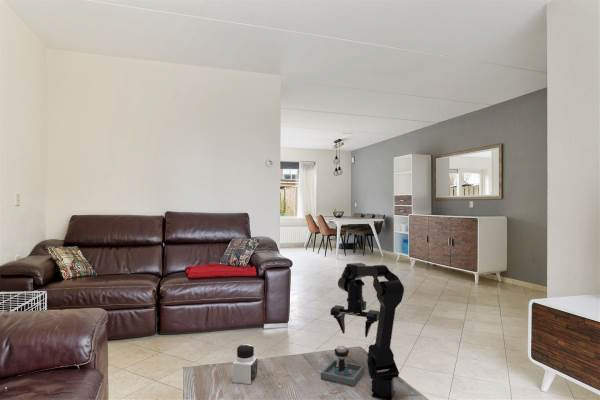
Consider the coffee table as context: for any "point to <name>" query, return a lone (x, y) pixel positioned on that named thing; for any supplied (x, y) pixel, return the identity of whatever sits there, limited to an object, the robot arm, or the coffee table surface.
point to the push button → (341, 361)
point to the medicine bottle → (245, 365)
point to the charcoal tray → (346, 380)
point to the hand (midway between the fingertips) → (354, 335)
